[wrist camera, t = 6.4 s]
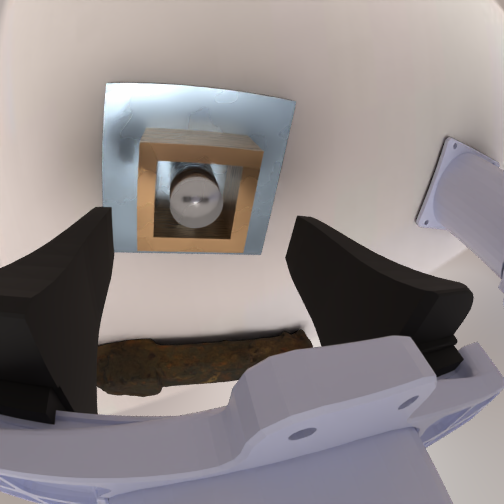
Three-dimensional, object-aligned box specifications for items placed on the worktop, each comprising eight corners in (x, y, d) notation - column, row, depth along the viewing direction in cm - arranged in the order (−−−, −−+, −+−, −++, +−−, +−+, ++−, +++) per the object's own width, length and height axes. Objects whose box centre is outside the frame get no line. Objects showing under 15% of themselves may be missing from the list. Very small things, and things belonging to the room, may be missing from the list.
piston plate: (292, 100, 16) (324, 112, 12) (258, 249, 21) (276, 289, 18) (108, 82, 13) (88, 88, 9) (107, 246, 18) (97, 289, 15)
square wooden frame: (247, 135, 16) (264, 151, 13) (231, 222, 19) (243, 252, 16) (145, 127, 14) (139, 142, 12) (141, 220, 17) (137, 250, 14)
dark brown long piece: (305, 321, 27) (325, 360, 23) (292, 349, 29) (309, 387, 25) (84, 322, 21) (76, 370, 18) (92, 353, 23) (87, 398, 20)
